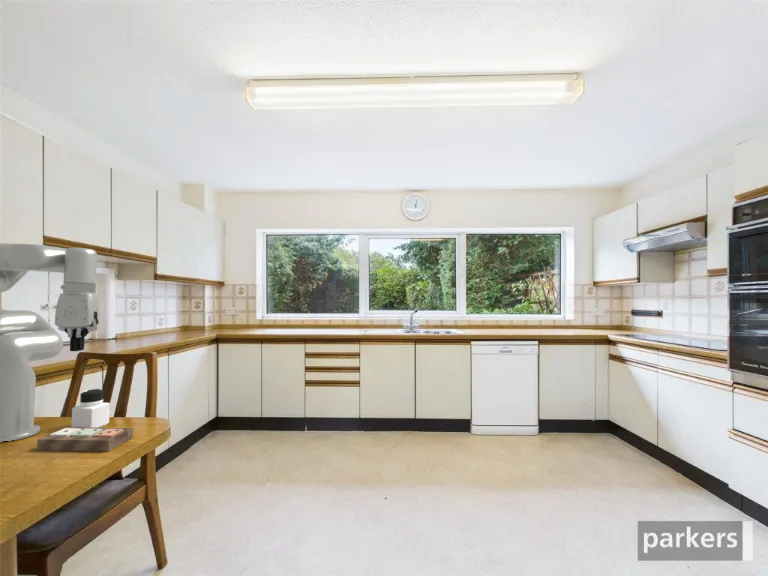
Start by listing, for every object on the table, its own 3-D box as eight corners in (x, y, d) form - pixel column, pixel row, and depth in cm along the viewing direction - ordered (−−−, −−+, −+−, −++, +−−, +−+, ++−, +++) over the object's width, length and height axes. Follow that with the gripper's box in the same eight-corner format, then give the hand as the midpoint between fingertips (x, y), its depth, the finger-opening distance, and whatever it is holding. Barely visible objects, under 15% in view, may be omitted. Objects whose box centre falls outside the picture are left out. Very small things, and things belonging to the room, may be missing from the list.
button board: (37, 450, 103) (37, 439, 103) (67, 436, 113) (67, 426, 113) (108, 451, 103) (109, 440, 103) (132, 437, 113) (133, 428, 113)
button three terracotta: (93, 443, 106) (93, 434, 106) (106, 436, 111) (106, 428, 111) (111, 443, 106) (111, 435, 106) (123, 437, 111) (123, 428, 111)
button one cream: (49, 442, 106) (49, 433, 106) (64, 436, 111) (64, 427, 111) (67, 443, 106) (67, 434, 106) (81, 436, 111) (81, 428, 111)
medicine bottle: (109, 423, 125) (111, 388, 126) (90, 431, 118) (92, 393, 118) (90, 422, 126) (91, 387, 126) (70, 429, 119) (72, 392, 119)
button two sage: (71, 443, 106) (71, 434, 106) (85, 436, 111) (85, 428, 111) (89, 443, 106) (89, 434, 106) (102, 436, 111) (102, 428, 111)
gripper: (43, 288, 107) (40, 351, 106) (94, 289, 107) (92, 353, 106) (65, 289, 114) (62, 348, 114) (113, 290, 114) (111, 349, 114)
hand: (76, 350), depth 110 cm, fingers closed
